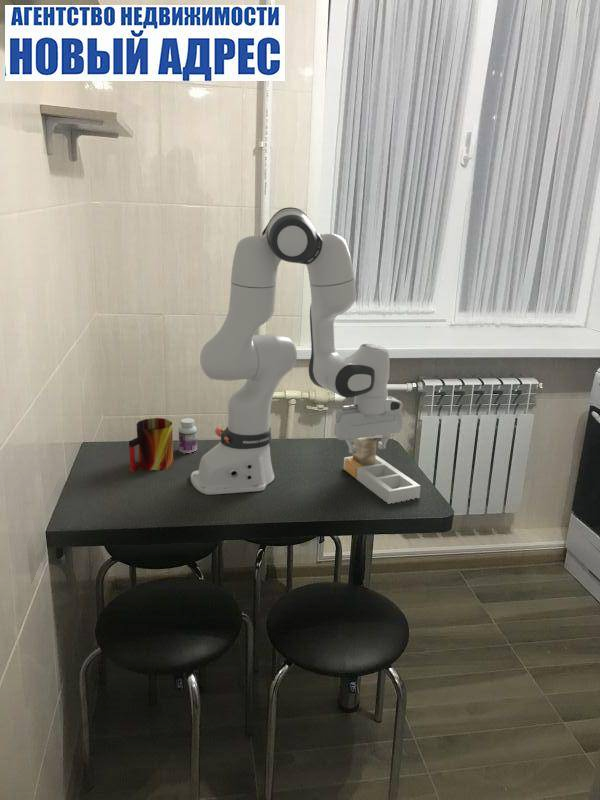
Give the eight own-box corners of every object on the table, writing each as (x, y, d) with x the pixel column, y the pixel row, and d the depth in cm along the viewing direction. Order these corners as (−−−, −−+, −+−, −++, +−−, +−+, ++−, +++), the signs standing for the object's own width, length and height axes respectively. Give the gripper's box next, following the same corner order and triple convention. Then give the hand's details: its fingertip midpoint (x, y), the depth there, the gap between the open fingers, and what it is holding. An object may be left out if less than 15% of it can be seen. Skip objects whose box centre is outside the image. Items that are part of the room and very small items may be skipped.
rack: (387, 504, 161) (388, 490, 160) (342, 469, 182) (343, 456, 180) (419, 498, 165) (420, 484, 164) (372, 464, 186) (373, 452, 185)
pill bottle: (177, 448, 192) (176, 418, 189) (194, 446, 194) (193, 416, 191) (181, 455, 187) (180, 424, 184) (199, 452, 189) (198, 422, 186)
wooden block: (359, 475, 178) (362, 442, 175) (351, 469, 182) (354, 436, 179) (374, 473, 180) (376, 440, 177) (365, 467, 184) (368, 434, 181)
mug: (129, 476, 172) (127, 434, 169) (143, 456, 185) (141, 417, 182) (165, 477, 172) (164, 435, 169) (176, 457, 185) (175, 418, 182)
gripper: (342, 410, 167) (339, 459, 171) (407, 402, 175) (403, 449, 179) (331, 403, 172) (328, 451, 176) (395, 396, 181) (391, 442, 185)
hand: (367, 450), depth 178 cm, fingers open, 8 cm apart
